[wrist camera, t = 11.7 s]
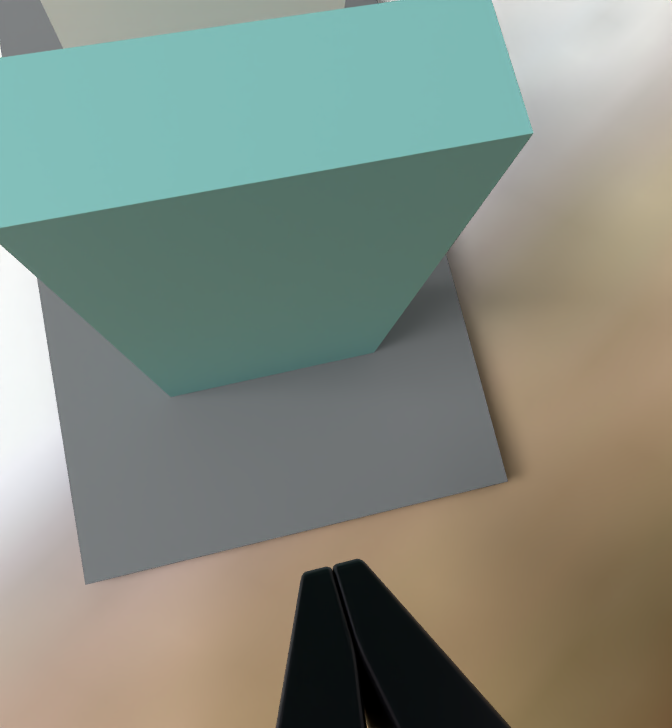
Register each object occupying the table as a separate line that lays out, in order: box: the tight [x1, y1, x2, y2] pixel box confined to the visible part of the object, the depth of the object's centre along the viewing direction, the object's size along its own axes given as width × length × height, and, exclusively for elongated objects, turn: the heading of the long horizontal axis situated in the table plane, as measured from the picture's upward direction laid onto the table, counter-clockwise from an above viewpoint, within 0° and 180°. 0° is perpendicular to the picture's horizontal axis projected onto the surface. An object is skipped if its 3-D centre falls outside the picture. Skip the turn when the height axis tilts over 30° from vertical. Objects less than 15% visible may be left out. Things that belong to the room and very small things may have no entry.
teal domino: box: [0, 0, 533, 397], centre depth 11 cm, size 2×5×10 cm, turn 104°
